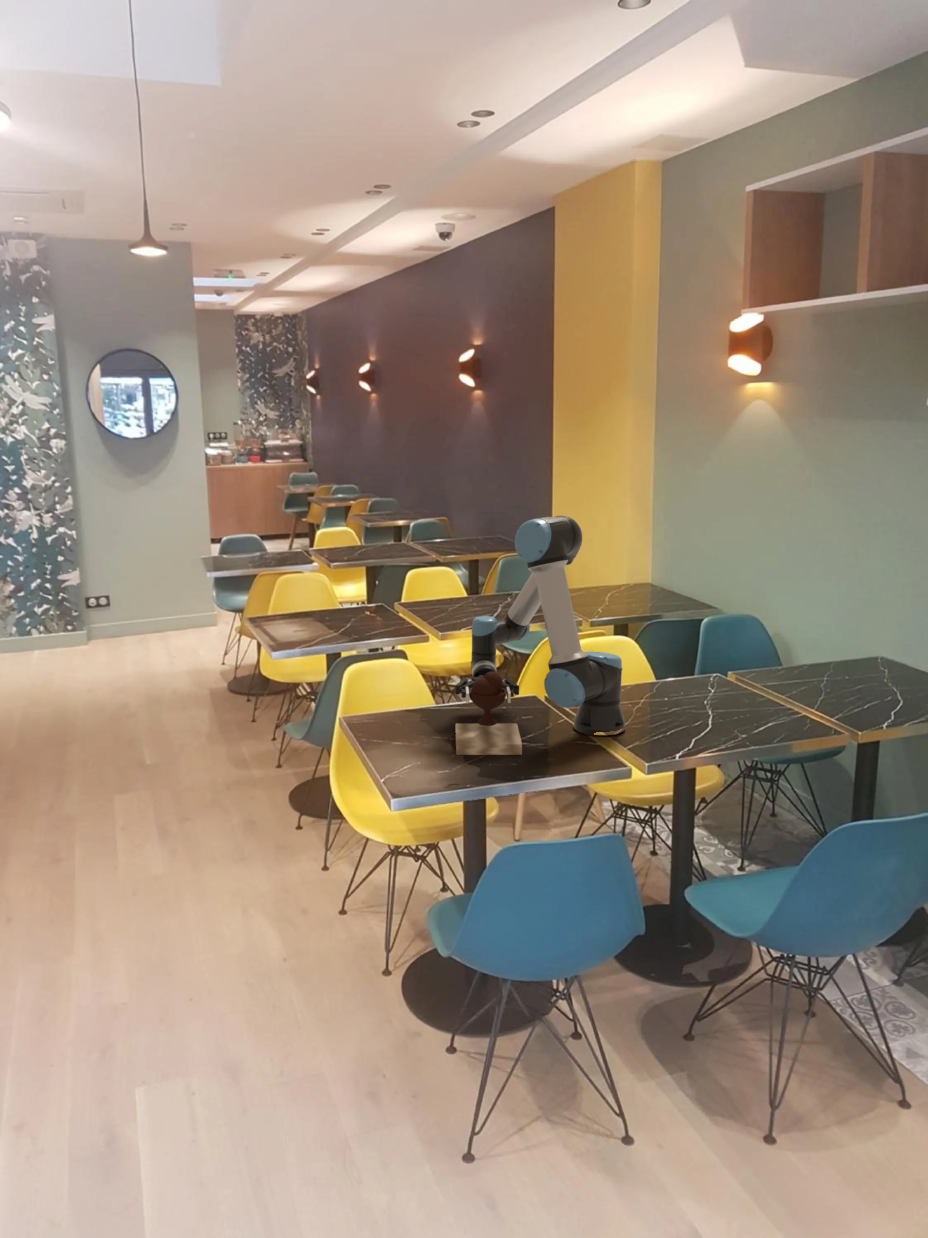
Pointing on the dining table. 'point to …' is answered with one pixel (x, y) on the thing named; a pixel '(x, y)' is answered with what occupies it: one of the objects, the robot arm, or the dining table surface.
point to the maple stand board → (488, 739)
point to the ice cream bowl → (488, 695)
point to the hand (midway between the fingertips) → (488, 698)
